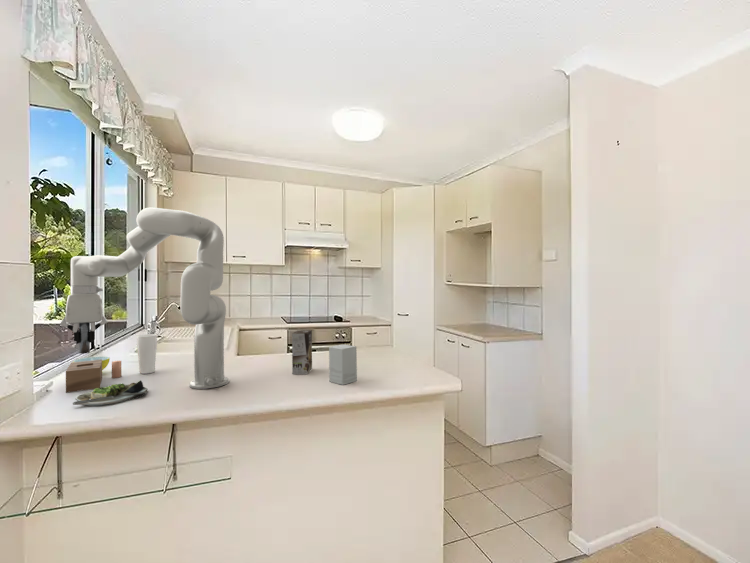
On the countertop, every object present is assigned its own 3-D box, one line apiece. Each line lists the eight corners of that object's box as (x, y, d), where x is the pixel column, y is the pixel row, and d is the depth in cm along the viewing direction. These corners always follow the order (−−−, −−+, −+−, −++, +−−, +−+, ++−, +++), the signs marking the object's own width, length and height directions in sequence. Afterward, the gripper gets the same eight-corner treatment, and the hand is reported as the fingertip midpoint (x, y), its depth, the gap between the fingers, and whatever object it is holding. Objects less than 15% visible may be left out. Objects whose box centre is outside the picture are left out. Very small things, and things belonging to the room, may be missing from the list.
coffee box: (308, 374, 140) (308, 333, 140) (291, 374, 140) (291, 333, 140) (312, 368, 149) (312, 329, 149) (297, 368, 149) (296, 329, 149)
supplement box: (357, 381, 130) (357, 346, 130) (342, 385, 125) (342, 349, 125) (343, 377, 135) (343, 343, 135) (328, 381, 130) (328, 346, 130)
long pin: (89, 353, 127) (89, 319, 127) (78, 354, 126) (78, 319, 126) (90, 351, 130) (90, 318, 130) (79, 352, 128) (79, 318, 128)
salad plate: (86, 414, 99) (86, 398, 99) (57, 404, 108) (57, 389, 108) (157, 395, 116) (157, 380, 116) (127, 387, 125) (127, 374, 125)
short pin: (121, 377, 137) (121, 361, 137) (111, 378, 136) (111, 362, 136) (121, 375, 140) (121, 360, 140) (111, 376, 138) (111, 361, 138)
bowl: (116, 371, 147) (116, 356, 147) (95, 378, 136) (95, 362, 136) (88, 371, 147) (88, 356, 147) (65, 379, 135) (64, 362, 135)
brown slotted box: (100, 387, 124) (99, 367, 124) (65, 392, 118) (65, 371, 118) (102, 377, 137) (102, 359, 137) (71, 381, 132) (71, 362, 132)
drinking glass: (161, 370, 147) (160, 334, 147) (149, 374, 141) (148, 336, 141) (145, 370, 148) (145, 333, 148) (133, 374, 141) (132, 336, 141)
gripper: (113, 290, 135) (113, 339, 135) (55, 291, 126) (55, 343, 126) (112, 290, 129) (112, 341, 129) (52, 291, 120) (52, 346, 120)
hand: (84, 342), depth 128 cm, fingers closed on long pin, 3 cm apart
